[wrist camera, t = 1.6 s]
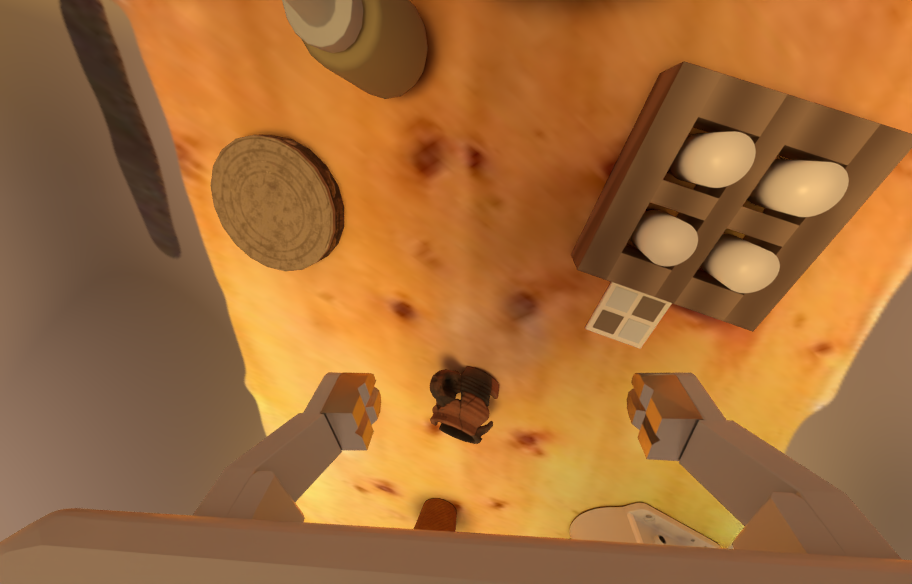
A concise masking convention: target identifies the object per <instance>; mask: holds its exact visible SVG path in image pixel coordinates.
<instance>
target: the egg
mask: <svg viewBox="0 0 912 584" xmlns="http://www.w3.org/2000/svg"><path fill="white" fill-rule="evenodd" d="M630 240H631V242H632V243H633V244H634V245H635V246H636V247H637V248H638V249H639V250H640V251H641V252H642V253H643V254H644V255H645V256H647V257H648V258H649V259H650V260H651V261H652V262H653V263H655V264H657V265H660V266H674V265H678V264H680V263H682V262H684V261H685V260H687V259H688V258H689V257H690V256H691V255H692V254H693V253H694V251H695V249H696V247H697V244H698V235H697V232H696V230H695V229H694V228H693V227H692V226H691V225H690V224H688V223H686V222H684V221H682V220H680V219H678V218H676V217H674V216H672V215H670V214H668V213H666V212H663V211H660V210H651V211H647V212H644V214H643V215H642V217H641V219H640V221H639V223H638V224H637V226H636V228H635V230H634V231H633V233H632V235H631V237H630Z"/></svg>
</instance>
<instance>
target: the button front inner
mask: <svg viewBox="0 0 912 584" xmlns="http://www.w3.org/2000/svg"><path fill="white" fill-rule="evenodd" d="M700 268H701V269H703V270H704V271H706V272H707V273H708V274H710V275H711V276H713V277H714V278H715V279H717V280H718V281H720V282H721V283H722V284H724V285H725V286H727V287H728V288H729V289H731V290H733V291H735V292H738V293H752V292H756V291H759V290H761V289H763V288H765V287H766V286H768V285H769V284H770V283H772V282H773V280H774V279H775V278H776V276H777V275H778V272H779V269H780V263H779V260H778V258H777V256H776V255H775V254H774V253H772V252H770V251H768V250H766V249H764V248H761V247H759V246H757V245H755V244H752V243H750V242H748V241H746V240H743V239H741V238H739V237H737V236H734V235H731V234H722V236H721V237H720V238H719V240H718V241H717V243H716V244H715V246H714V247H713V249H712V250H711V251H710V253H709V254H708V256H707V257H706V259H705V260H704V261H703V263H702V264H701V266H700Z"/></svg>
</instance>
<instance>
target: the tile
mask: <svg viewBox="0 0 912 584" xmlns="http://www.w3.org/2000/svg"><path fill="white" fill-rule="evenodd" d="M671 304H672V303H670V302H667V301H665V300H662V299H659V298H656V297H653V296H650V295H647V294H645V293H642V292H639V291H636V290H633V289H630V288H628V287H625V286H622V285H619V284H616V283H613V282H611V283H610V285H609V287H608V288H607V290H606V292H605V293H604V295H603V297H602V299H601V300H600V302H599V304H598V306H597V307H596V309H595V311H594V313H593V314H592V316H591V318H590V320H589V321H588V323H587V325H586V327H585V329H586V330H589V331H592V332H595V333H598V334H600V335H603V336H606V337H609V338H612V339H614V340H617V341H620V342H623V343H626V344H628V345H631V346H634V347H637V348H639V349H641V347H642V346H643V344H644V343H645V341H646V340H647V339H648V337H649V336H650V334H651V333H652V331H653V330H654V328H655V327H656V326H657V324H658V323H659V321H660V320H661V318H662V317H663V316H664V314H665V313H666V311H667V310H668V308H669V307H670V305H671Z"/></svg>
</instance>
